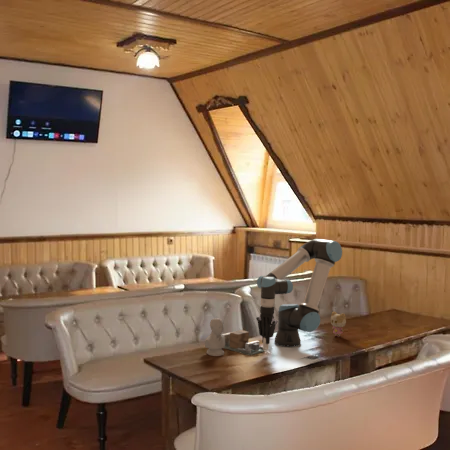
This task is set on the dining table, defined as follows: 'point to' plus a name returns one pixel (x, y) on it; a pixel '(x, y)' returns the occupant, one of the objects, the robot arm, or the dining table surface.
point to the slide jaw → (252, 345)
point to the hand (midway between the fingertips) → (265, 349)
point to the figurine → (215, 338)
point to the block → (239, 338)
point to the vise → (240, 350)
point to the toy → (338, 322)
